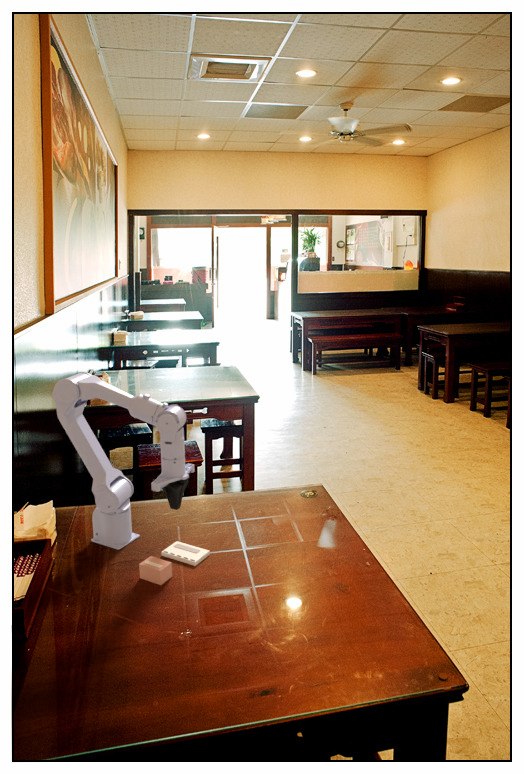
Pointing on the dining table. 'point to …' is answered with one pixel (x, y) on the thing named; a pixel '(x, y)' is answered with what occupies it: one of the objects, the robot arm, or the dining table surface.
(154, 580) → the pink rectangular block
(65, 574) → the dining table surface
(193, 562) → the white slotted panel
